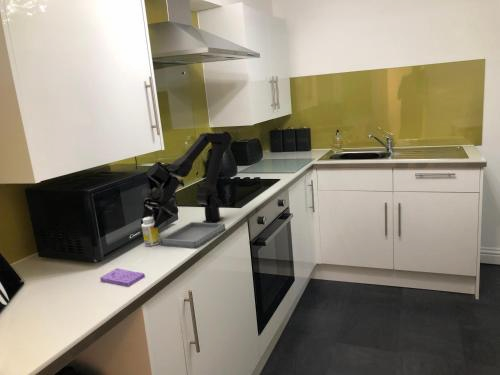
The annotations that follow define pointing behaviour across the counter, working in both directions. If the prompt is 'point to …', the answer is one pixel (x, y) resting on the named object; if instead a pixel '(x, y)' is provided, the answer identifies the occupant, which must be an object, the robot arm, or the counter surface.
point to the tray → (192, 235)
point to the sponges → (122, 277)
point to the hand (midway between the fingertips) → (147, 225)
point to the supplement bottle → (150, 232)
